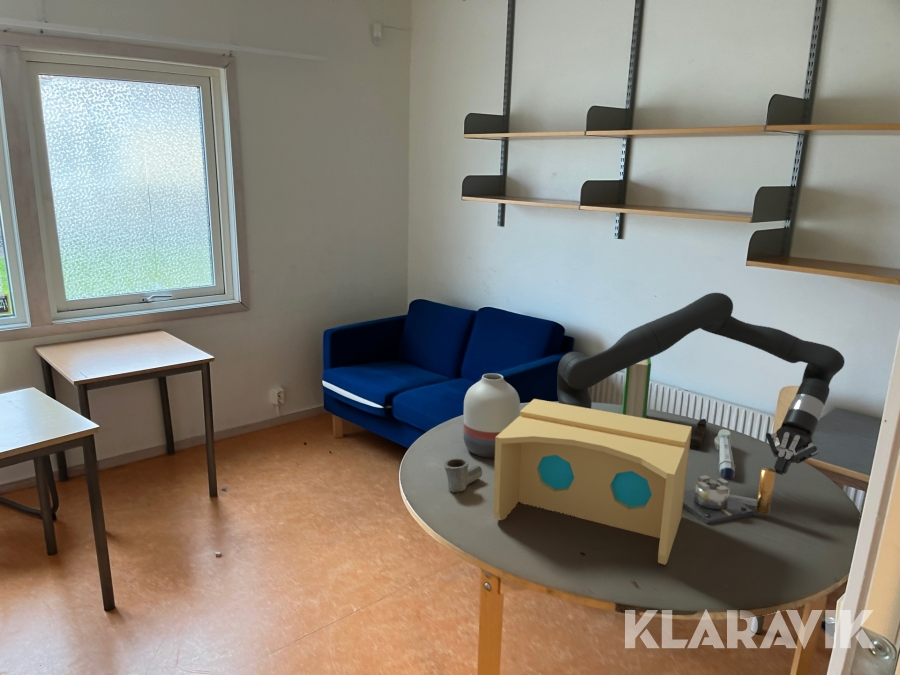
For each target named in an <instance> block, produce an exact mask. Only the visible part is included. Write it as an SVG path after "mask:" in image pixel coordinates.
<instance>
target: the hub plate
mask: <svg viewBox="0 0 900 675" xmlns="http://www.w3.org/2000/svg"><path fill="white" fill-rule="evenodd" d="M695 489H696V488H693V489H688V490H685V491H684V500H683V508H684V509H686V510H687V511H688V512H689V513H691V514H692V515H693V516H695V517H696V518H698V519H699V520H700V521H701V522H703V523H704V524H705V525H710V524H714V523H715V524H716V523H720V522H725V521H730V520H736V519H740V518H745V517H751V516H753V514H754V510H752V509H751V508H749V507H748V506H747V505H746V504H742V503H737V502H732V501H728V505H727V507H725V508H721V509H713V508H708V507H705V506H702V505H700V504H699V503H697V502H696V501H695V499H694V497H695Z"/></svg>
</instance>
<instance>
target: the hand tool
mask: <svg viewBox="0 0 900 675" xmlns="http://www.w3.org/2000/svg"><path fill="white" fill-rule="evenodd" d="M706 430H707V420H706V418H700V420H699V421H698V422H697V426H696V428H695V429H694V431H693V433H691V439H690V448H689V450H695V451H696V450H697V451H699V450H700V449H701V446H702V442H703V438H704V437H705V436H706V432H707V431H706Z"/></svg>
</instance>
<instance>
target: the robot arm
mask: <svg viewBox="0 0 900 675" xmlns="http://www.w3.org/2000/svg"><path fill="white" fill-rule="evenodd" d="M733 310H734V303H733V300H732V298H730V296H728V295H727V294H724V293H722V292H710V293H707V294H704V295H703V296H701V297H700V298H699V297H698V299H696V300H694V301H693V302H691V303H689V304H688V305H685V306H684V307H682V308H679V309H678V310H675V311H673V312H671V313H668V314H665V315H663V316H662V317H659V318H656V319H654V320H651V321H650V322H647V323H644V324H642V325H640V326H638V327H635V328H633V329H631V330H629V331H627V332H626V333H625V334H623V335H622V336H621V337H620V338H619V339H618V340H617V341H616V342H615V343H614V344H613V345H612V346H610V347H609V348H607V349H606V350H603V351H601V352H599V353H596V354H594V355H590V356H586V355H585V354H583V353H582V352H578V351H569V352H567V353H566V354H564V355H563V356H562V357H561V359H560V360H559V363H558V367H557V382H556V384H557V385H556V386H557V387H556V388H557V389H556V392H557V394H556V395H557V399H558V403H561V404H566V405H572V406H578V407H583V408H589V409H592V405H593V404H592V399H591V396H590V392H589V388H592V387H593V386H595V385H597V384H598V383H600V382H603V381H604V380H605V379H607V378H610V377H611V376H612V375H614V374H616V373H618V372H620V371H623V370H625V368H628V367H630V366H632V365H634V364H636V363H639V362H641V361H643V360H646V359H648V358H650V359H651V358H652V357H655V356H657V355H660V354H661V353H663V352H665V351H667V350H668V349H670V348H671V347H673V346H674V345H676V344H677V343H678V342H680V341H681V340H682V339H684V338H685V337H686V336H688V335H690V334H691V333H693V332H694V331H697V330H699V329H700V330H702V331H704V332H707V333H710V334H712V335H713V334H714V335H716V336H721V337H724V338H727V339H729V340H733V341H736V342H739V343H742V344H745V345H748V346H751V347H754V348H756V349H758V350H761V351H763V352H765V353H767V354H770V355H772V356H774V357H777V358H778V359H781V360H782V361H785V362H788V363H790V364H796V363H800V362H801V363H805V364H806V366H805V368H804V371H803V374H802V380H801V383H800V385H799V387H798V389H797V391H796V394H795V395H794V398H793V399H792V401H791V403H790V405H789V406H788V409H787V411H786V413H785V416H784V419H783V421H782V423H781V425H780V427H779V428H778V429H777V430H776V432H773V433H770V432H767V433H766V434H765V437H766V440H767V442H768V446H769V447H770V451H771V452H772V455H773V457H775V458H777V459H776V461H775V463H774V465H773V468H774V469H773V470H775V471H776V473H775V474H778V475H781V476H783V475H784V474H785V475H786V474H787V473H788V471H789V467H790V466H791V464H792V463H795V464H800V463H803V462H805V461H806V460H808V459H810V458H812V457H815V456H816V455H818V454H819V451H818V447H817V446H815V445H814V444H813V437H814V435H815V432H816V429H817V427H818V426H819V425H818V424H819V423H820V422H819V421H820V419H821V417H822V414H823V411H824V406H825V405H826V402H827V400H828V398H829V394H830V384H831V381H832V379H833V378H834V376H835V375H836V374H837V373H839V372H840V371H841V370H842V369H843V368H844V367H845V366H844V365H845V358H844V355H842V353H841V352H840V351H839V350H837V349H836V348H834V347H833V346H830V345H826V344H822V343H818V342H813V341H809V340H804V339H802V338H799V337H797V336H795V335H793V334H791V333H788V332H786V331H784V330H781V329H778V328H774V327H772V326H771V327H769V326H764V325H763V326H762V325H759V324H752V323H748V322H745V321H743V320H740V319H738V318H735V317H734V316H732V314H733ZM777 439H778V442H779V444H780V447H779V450H778V449H777V446H776V444H775V442H777ZM804 449H805V450H804ZM798 452H799V453H798Z"/></svg>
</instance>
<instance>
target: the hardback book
mask: <svg viewBox="0 0 900 675" xmlns="http://www.w3.org/2000/svg"><path fill="white" fill-rule="evenodd" d="M651 369H652V361H651V358H648V359H646V360H643V361H641V362H639V363H636V364H634V365H632V366H630V367H628V368H625V369H624V381H623V393H622V406H621V414H623V415H629V416H634V417H640V418H646V419H647V413H648V412H647V411H648V402H649V401H648V400H649V392H650V391H649V390H650V389H649V388H650V380H651V379H650V378H651V371H652V370H651Z"/></svg>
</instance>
